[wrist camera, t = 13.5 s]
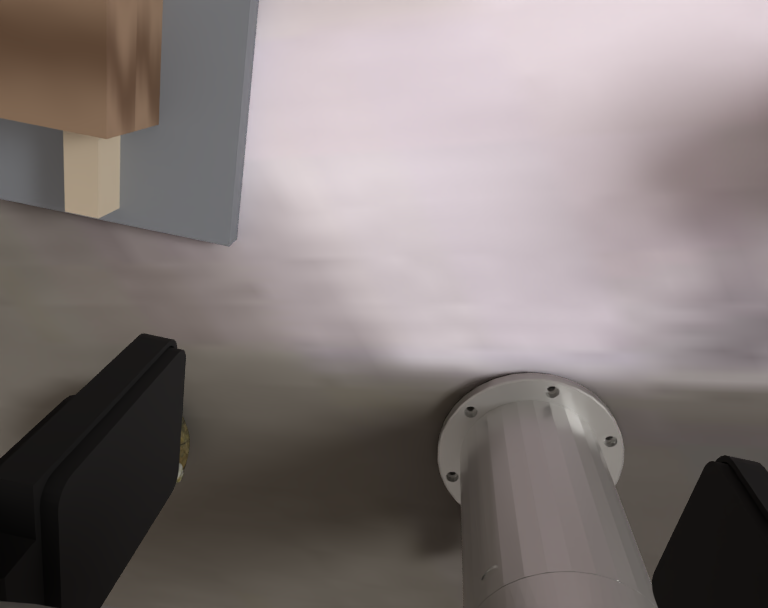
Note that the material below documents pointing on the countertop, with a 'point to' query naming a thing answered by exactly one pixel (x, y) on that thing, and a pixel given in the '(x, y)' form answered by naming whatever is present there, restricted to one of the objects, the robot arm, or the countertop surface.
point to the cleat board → (156, 138)
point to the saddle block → (81, 64)
